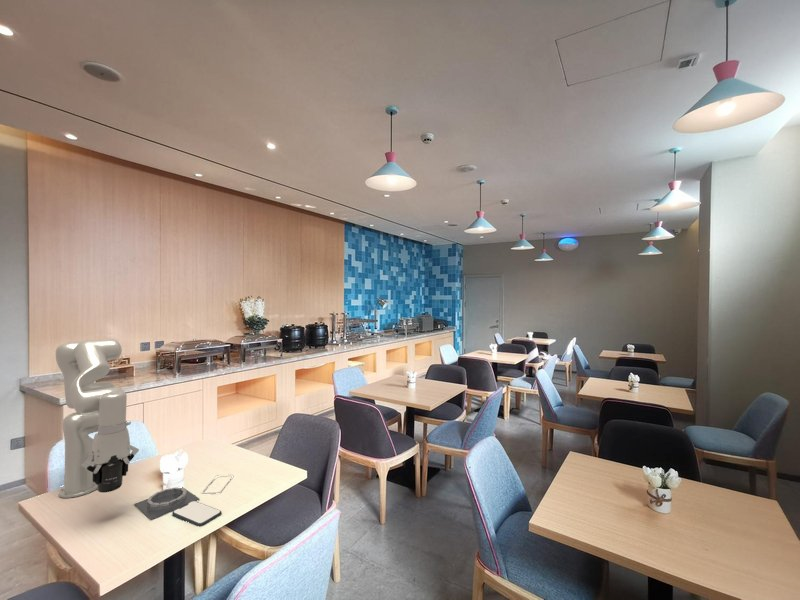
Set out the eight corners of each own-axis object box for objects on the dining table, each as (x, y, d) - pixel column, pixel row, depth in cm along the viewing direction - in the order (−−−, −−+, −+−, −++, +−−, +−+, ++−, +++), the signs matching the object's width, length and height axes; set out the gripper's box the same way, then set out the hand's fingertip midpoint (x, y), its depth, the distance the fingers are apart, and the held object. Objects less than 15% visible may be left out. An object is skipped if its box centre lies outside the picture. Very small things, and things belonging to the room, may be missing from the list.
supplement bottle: (108, 494, 119) (109, 459, 119) (91, 491, 120) (93, 456, 120) (127, 484, 126) (128, 450, 126) (112, 481, 127) (113, 448, 127)
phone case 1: (223, 515, 125) (194, 504, 132) (223, 510, 126) (194, 499, 132) (199, 529, 117) (170, 516, 124) (200, 524, 118) (170, 512, 124)
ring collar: (134, 505, 131) (134, 498, 131) (181, 487, 144) (181, 481, 144) (150, 520, 121) (150, 512, 122) (199, 500, 134) (199, 493, 134)
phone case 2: (220, 495, 139) (233, 477, 154) (220, 491, 139) (234, 474, 154) (200, 496, 138) (216, 478, 153) (200, 492, 138) (216, 474, 153)
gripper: (137, 419, 132) (136, 466, 132) (76, 432, 118) (74, 485, 118) (145, 423, 128) (143, 472, 128) (82, 437, 114) (80, 493, 114)
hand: (110, 478), depth 123 cm, fingers closed on supplement bottle, 6 cm apart
